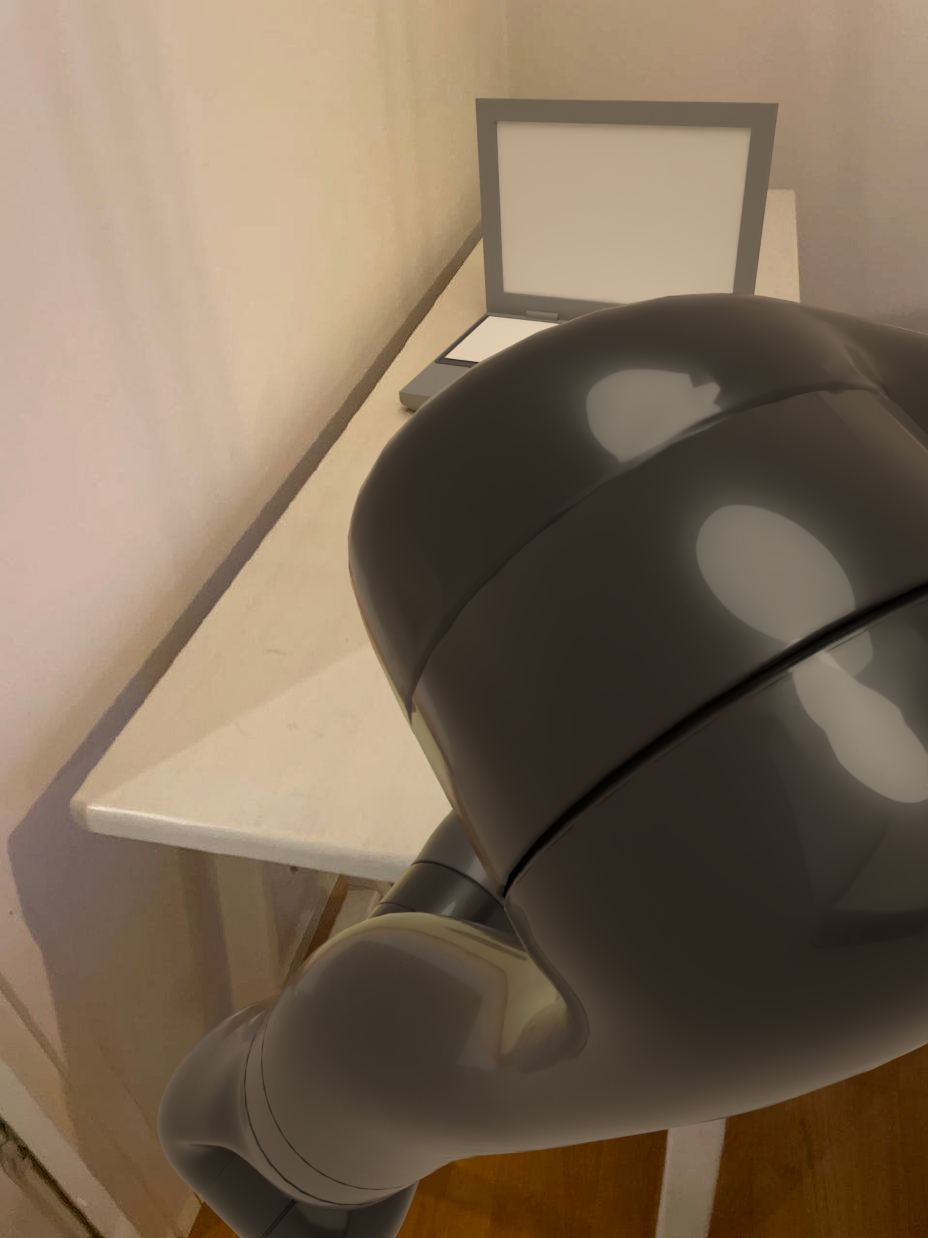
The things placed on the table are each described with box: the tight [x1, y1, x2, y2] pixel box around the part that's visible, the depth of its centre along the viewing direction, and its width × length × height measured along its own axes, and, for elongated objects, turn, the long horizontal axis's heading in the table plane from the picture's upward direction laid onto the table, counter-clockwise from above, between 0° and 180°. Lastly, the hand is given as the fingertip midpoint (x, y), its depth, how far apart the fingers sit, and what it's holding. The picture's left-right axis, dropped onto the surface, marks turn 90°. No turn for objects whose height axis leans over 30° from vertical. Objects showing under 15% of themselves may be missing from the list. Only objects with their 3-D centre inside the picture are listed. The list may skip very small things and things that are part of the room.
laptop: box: [398, 97, 780, 412], centre depth 105 cm, size 35×26×28 cm
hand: (664, 659), depth 57 cm, fingers closed on box, 6 cm apart
